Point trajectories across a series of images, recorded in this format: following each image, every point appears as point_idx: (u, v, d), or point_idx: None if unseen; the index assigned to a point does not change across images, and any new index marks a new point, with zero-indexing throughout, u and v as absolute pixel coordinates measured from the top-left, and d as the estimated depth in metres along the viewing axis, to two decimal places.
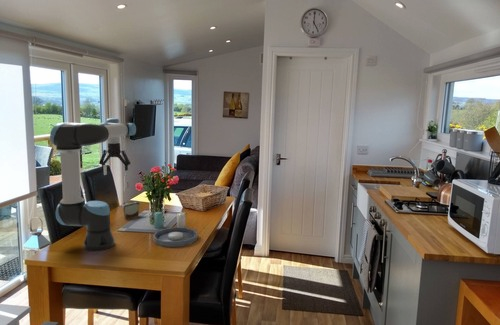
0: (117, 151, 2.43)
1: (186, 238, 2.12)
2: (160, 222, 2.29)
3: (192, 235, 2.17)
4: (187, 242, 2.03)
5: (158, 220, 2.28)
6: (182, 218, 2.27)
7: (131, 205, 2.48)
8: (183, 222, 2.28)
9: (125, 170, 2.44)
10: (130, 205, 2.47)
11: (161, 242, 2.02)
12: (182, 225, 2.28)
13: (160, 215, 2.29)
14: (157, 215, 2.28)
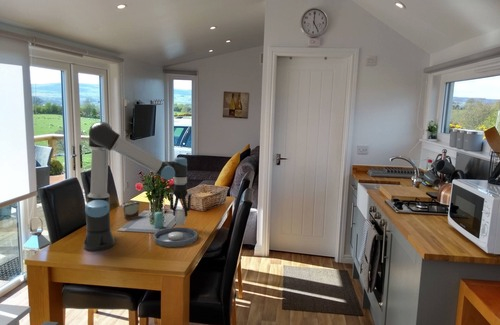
0: (184, 192, 2.25)
1: (186, 238, 2.12)
2: (160, 222, 2.29)
3: (192, 235, 2.17)
4: (187, 242, 2.03)
5: (158, 220, 2.28)
6: (181, 214, 2.26)
7: (131, 205, 2.48)
8: (182, 218, 2.27)
9: (185, 216, 2.28)
10: (130, 205, 2.47)
11: (161, 242, 2.02)
12: (181, 221, 2.27)
13: (160, 215, 2.29)
14: (157, 215, 2.28)
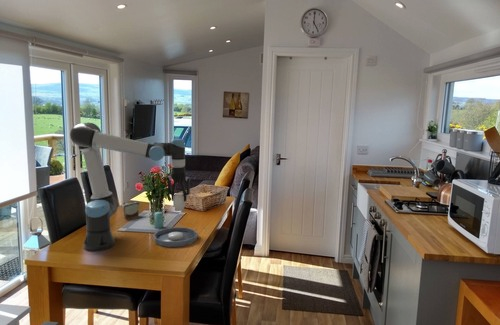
0: (183, 176, 2.13)
1: (186, 238, 2.12)
2: (160, 222, 2.29)
3: (192, 235, 2.17)
4: (187, 242, 2.03)
5: (158, 220, 2.28)
6: (180, 199, 2.14)
7: (131, 205, 2.48)
8: (181, 203, 2.15)
9: (184, 201, 2.15)
10: (130, 205, 2.47)
11: (161, 242, 2.02)
12: (180, 206, 2.15)
13: (160, 215, 2.29)
14: (157, 215, 2.28)
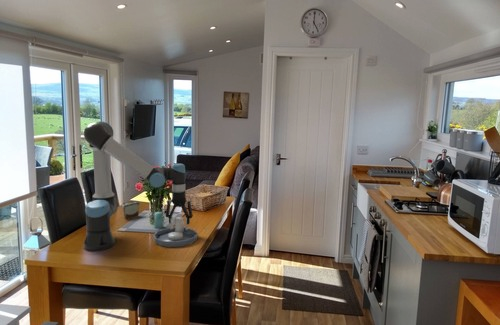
0: (183, 200, 2.15)
1: (186, 238, 2.12)
2: (160, 222, 2.29)
3: (192, 235, 2.17)
4: (187, 242, 2.03)
5: (158, 220, 2.28)
6: (180, 223, 2.16)
7: (131, 205, 2.48)
8: (181, 227, 2.17)
9: (187, 224, 2.17)
10: (130, 205, 2.47)
11: (161, 242, 2.02)
12: (180, 230, 2.17)
13: (160, 215, 2.29)
14: (157, 215, 2.28)
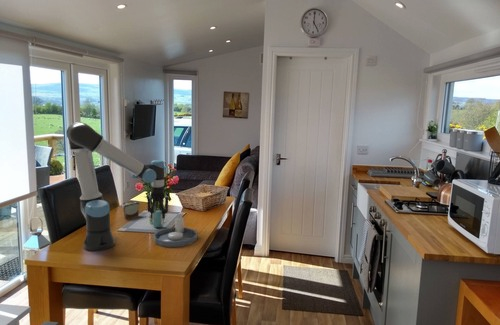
0: (161, 195, 2.27)
1: (186, 238, 2.12)
2: (159, 221, 2.29)
3: (192, 235, 2.17)
4: (187, 242, 2.03)
5: (157, 219, 2.28)
6: (180, 223, 2.16)
7: (131, 205, 2.48)
8: (181, 227, 2.17)
9: (162, 218, 2.29)
10: (130, 205, 2.47)
11: (161, 242, 2.02)
12: (180, 230, 2.17)
13: (159, 214, 2.28)
14: (156, 214, 2.27)
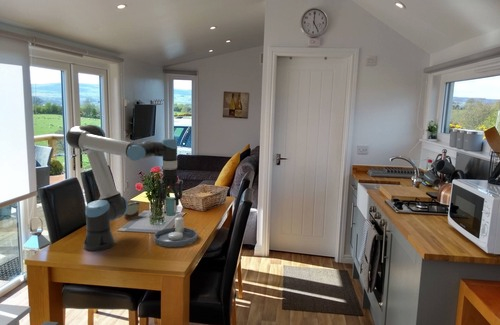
0: (174, 178, 1.98)
1: (186, 238, 2.12)
2: (172, 209, 2.00)
3: (192, 235, 2.17)
4: (187, 242, 2.03)
5: (170, 206, 1.99)
6: (180, 223, 2.16)
7: (131, 205, 2.48)
8: (181, 227, 2.17)
9: (176, 205, 2.00)
10: (130, 205, 2.47)
11: (161, 242, 2.02)
12: (180, 230, 2.17)
13: (172, 201, 1.99)
14: (169, 201, 1.99)
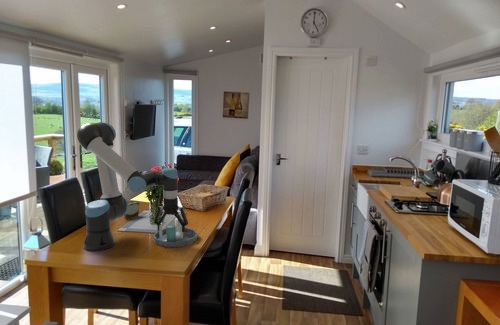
0: (175, 208, 2.00)
1: (186, 238, 2.12)
2: (173, 237, 2.02)
3: (192, 235, 2.17)
4: (187, 242, 2.03)
5: (170, 235, 2.02)
6: None
7: (131, 205, 2.48)
8: None
9: (182, 231, 2.02)
10: (130, 205, 2.47)
11: (161, 242, 2.02)
12: None
13: (173, 229, 2.02)
14: (169, 230, 2.01)
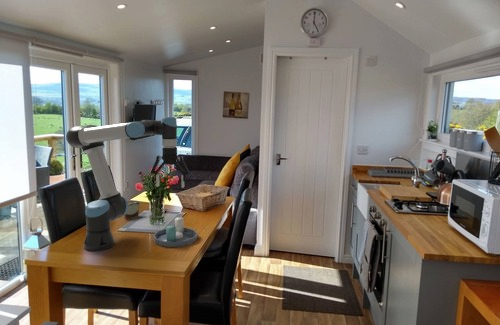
0: (174, 157, 1.96)
1: (186, 238, 2.12)
2: (173, 237, 2.02)
3: (192, 235, 2.17)
4: (187, 242, 2.03)
5: (170, 235, 2.02)
6: (180, 223, 2.16)
7: (131, 205, 2.48)
8: (181, 227, 2.17)
9: (183, 181, 1.98)
10: (130, 205, 2.47)
11: (161, 242, 2.02)
12: (180, 230, 2.17)
13: (173, 229, 2.02)
14: (169, 230, 2.01)
